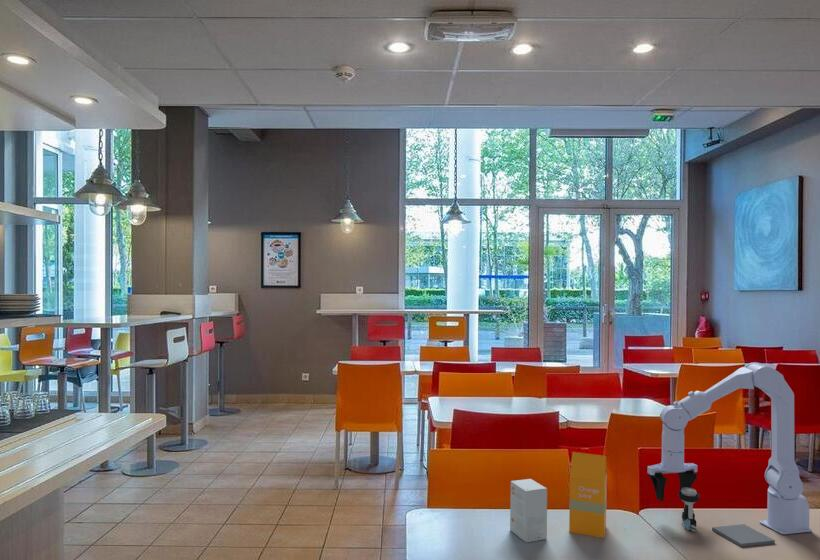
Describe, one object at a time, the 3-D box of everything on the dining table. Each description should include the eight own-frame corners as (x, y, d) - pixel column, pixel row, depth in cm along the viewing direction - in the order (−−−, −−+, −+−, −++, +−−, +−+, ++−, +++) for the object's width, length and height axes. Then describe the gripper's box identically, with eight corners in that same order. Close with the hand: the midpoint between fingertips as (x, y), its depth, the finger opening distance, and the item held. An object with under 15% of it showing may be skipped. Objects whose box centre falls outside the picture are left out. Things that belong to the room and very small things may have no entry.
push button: (704, 534, 156) (705, 495, 156) (683, 532, 156) (683, 494, 156) (694, 523, 162) (695, 486, 162) (674, 522, 163) (675, 485, 163)
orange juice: (604, 538, 153) (605, 459, 153) (568, 532, 156) (569, 455, 156) (606, 526, 160) (607, 451, 160) (572, 520, 163) (573, 447, 163)
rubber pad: (744, 527, 160) (744, 524, 160) (774, 543, 150) (774, 540, 150) (712, 530, 158) (712, 527, 158) (741, 547, 148) (741, 543, 148)
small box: (547, 539, 151) (548, 488, 151) (525, 543, 149) (526, 491, 149) (530, 526, 159) (530, 478, 159) (509, 530, 157) (509, 480, 157)
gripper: (685, 444, 172) (684, 491, 172) (641, 447, 168) (640, 495, 168) (703, 451, 165) (702, 500, 165) (656, 454, 161) (655, 504, 161)
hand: (672, 498), depth 166 cm, fingers open, 7 cm apart
